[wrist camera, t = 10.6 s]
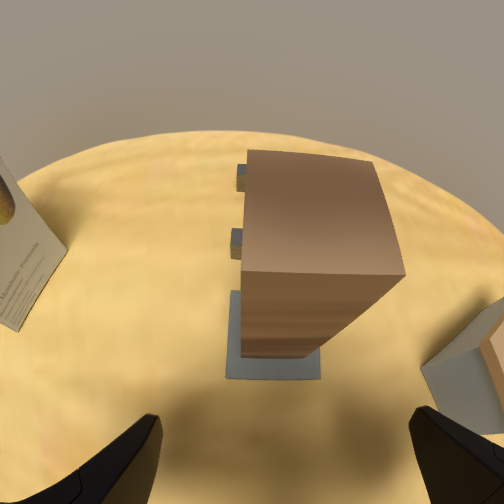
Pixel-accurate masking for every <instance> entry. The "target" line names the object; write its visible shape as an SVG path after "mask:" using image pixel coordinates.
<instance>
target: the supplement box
mask: <svg viewBox="0 0 504 504" xmlns="http://www.w3.org/2000/svg"><path fill="white" fill-rule="evenodd" d="M67 251H68V250H67V248H66V247H65V246H64V245H63V244H62V242H61V241H60V240H59V239H58V238H57V236H56V235H55V234H54V233H53V232H52V230H51V229H50V228H49V227H48V225H47V224H46V223H45V221H44V220H43V219H42V218H41V216H40V215H39V214H38V212H37V211H36V210H35V208H34V207H33V205H32V204H31V203H30V201H29V200H28V198H27V197H26V196H25V194H24V193H23V191H22V190H21V188H20V187H19V186H18V184H17V183H16V181H15V180H14V178H13V176H12V175H11V173H10V172H9V170H8V169H7V168H6V166H5V164H4V162H3V160H2V159H1V157H0V323H1V324H3V325H5V326H6V327H8V328H10V329H12V330H13V331H15V332H18V331H19V329H20V327H21V325H22V323H23V321H24V319H25V318H26V316H27V314H28V312H29V310H30V309H31V307H32V305H33V304H34V302H35V300H36V298H37V297H38V295H39V294H40V292H41V290H42V289H43V287H44V286H45V284H46V282H47V281H48V279H49V278H50V276H51V275H52V273H53V272H54V270H55V269H56V267H57V266H58V264H59V263H60V261H61V260H62V259H63V257H64V256H65V254H66V253H67Z"/></svg>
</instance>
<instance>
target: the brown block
mask: <svg viewBox="0 0 504 504" xmlns="http://www.w3.org/2000/svg"><path fill="white" fill-rule="evenodd" d="M405 276H406V273H405V269H404V264H403V260H402V256H401V252H400V248H399V244H398V240H397V236H396V233H395V229H394V226H393V222H392V219H391V215H390V212H389V209H388V206H387V203H386V199H385V196H384V193H383V190H382V188H381V185H380V182H379V179H378V176H377V173H376V171H375V168H374V165H373V163H372V162H369V161H363V160H356V159H349V158H342V157H334V156H325V155H316V154H306V153H295V152H282V151H267V150H247V167H246V184H245V201H244V219H243V237H242V257H241V358H256V359H304V358H305V357H306V356H308V355H309V354H311V353H312V352H313V351H315V350H316V349H318V348H319V347H320V346H322V345H323V344H324V343H326V342H327V341H328V340H330V339H331V338H332V337H334V336H335V335H336V334H338V333H339V332H340V331H341V330H343V329H344V328H345V327H347V326H348V325H349V324H350V323H352V322H353V321H354V320H355V319H356V318H358V317H359V316H360V315H361V314H363V313H364V312H365V311H366V310H367V309H369V308H370V307H371V306H372V305H373V304H374V303H376V302H377V301H378V300H379V299H380V298H381V297H383V296H384V295H385V294H386V293H387V292H388V291H389V290H390V289H391V288H393V287H394V286H395V285H396V284H397V283H398V282H399V281H400V280H401V279H402V278H403V277H405Z"/></svg>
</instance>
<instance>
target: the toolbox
mask: <svg viewBox="0 0 504 504" xmlns="http://www.w3.org/2000/svg"><path fill="white" fill-rule="evenodd" d="M420 369H421V371H422V373H423V375H424V377H425V380H426V382H427V384H428V386H429V388H430V391H431V393H432V395H433V397H434V400H435V402H436V404H437V407H438V409H439V411H440V413H441V414H443V415H445V416H446V417H448V418H450V419H451V420H453V421H455V422H457V423H459V424H460V425H462V426H464V427H466V428H467V429H469V430H471V431H473V432H475V433H476V434H478V435H490V434H501V433H504V297H503V298H501V299H499V300H498V301H496V302H495V303H493V304H492V305H490V306H488V307H487V308H485V309H483V310H482V311H481V312H480V313H479V314H478V315H477V316H476V317H475V318H474V319H473V321H472V322H471V323H470V324H469V325H468V326H467V327H466V328H465V329H464V330H463V331H462V332H461V333H460V334H458V335H457V336H456V337H455V338H454V339H453V340H452V341H451V342H450V343H449V344H448V345H447V346H446V347H444V348H443V349H442V350H441V351H440V352H439V353H438V354H437V355H435V356H434V357H433V358H432V359H431V360H429V361H428V362H427V363H426V364H425V365H423V366H422V367H421V368H420Z"/></svg>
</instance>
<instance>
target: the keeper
mask: <svg viewBox="0 0 504 504" xmlns="http://www.w3.org/2000/svg"><path fill="white" fill-rule="evenodd" d="M246 167H247V164H238V167H237V191H245V184H246ZM242 237H243V229H239V228H232V232H231V243H230V247H231V259H241V257H242Z"/></svg>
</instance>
